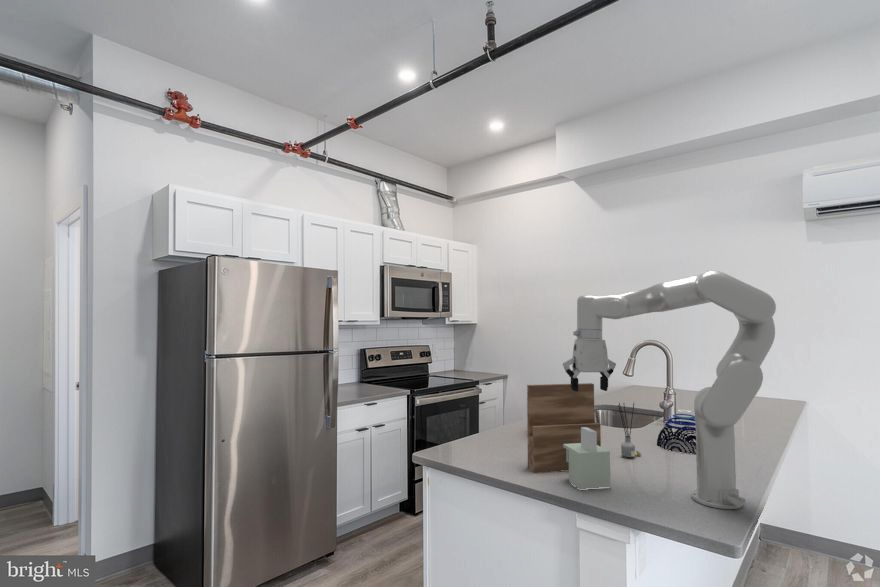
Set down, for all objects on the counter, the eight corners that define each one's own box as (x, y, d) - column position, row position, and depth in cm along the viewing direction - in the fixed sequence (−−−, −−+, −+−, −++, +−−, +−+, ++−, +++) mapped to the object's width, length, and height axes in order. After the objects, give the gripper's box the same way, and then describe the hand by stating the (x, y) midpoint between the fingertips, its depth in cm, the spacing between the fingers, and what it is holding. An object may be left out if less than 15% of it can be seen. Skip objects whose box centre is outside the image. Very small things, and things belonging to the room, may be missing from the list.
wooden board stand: (601, 468, 161) (599, 385, 163) (534, 473, 157) (534, 387, 158) (592, 463, 167) (591, 383, 169) (527, 467, 163) (527, 384, 164)
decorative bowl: (721, 447, 188) (720, 411, 189) (704, 458, 174) (704, 418, 175) (668, 438, 203) (668, 404, 203) (649, 447, 189) (648, 410, 189)
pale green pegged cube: (610, 488, 143) (609, 431, 144) (579, 491, 141) (579, 433, 142) (592, 476, 153) (591, 423, 154) (563, 479, 151) (563, 425, 152)
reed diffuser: (625, 460, 170) (624, 404, 171) (610, 455, 176) (609, 401, 177) (644, 457, 175) (643, 402, 176) (629, 452, 181) (628, 399, 182)
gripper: (569, 335, 143) (568, 392, 142) (621, 335, 146) (621, 392, 145) (558, 334, 150) (558, 388, 149) (608, 334, 153) (608, 388, 152)
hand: (589, 390), depth 147 cm, fingers open, 9 cm apart
